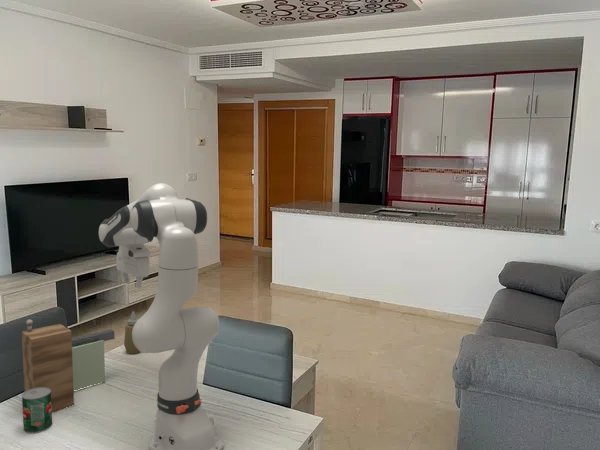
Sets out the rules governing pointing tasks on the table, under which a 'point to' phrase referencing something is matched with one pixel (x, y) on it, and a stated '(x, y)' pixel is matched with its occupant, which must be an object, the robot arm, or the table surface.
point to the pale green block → (88, 364)
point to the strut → (93, 338)
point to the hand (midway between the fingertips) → (132, 285)
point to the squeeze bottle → (130, 335)
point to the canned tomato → (37, 409)
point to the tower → (49, 362)
